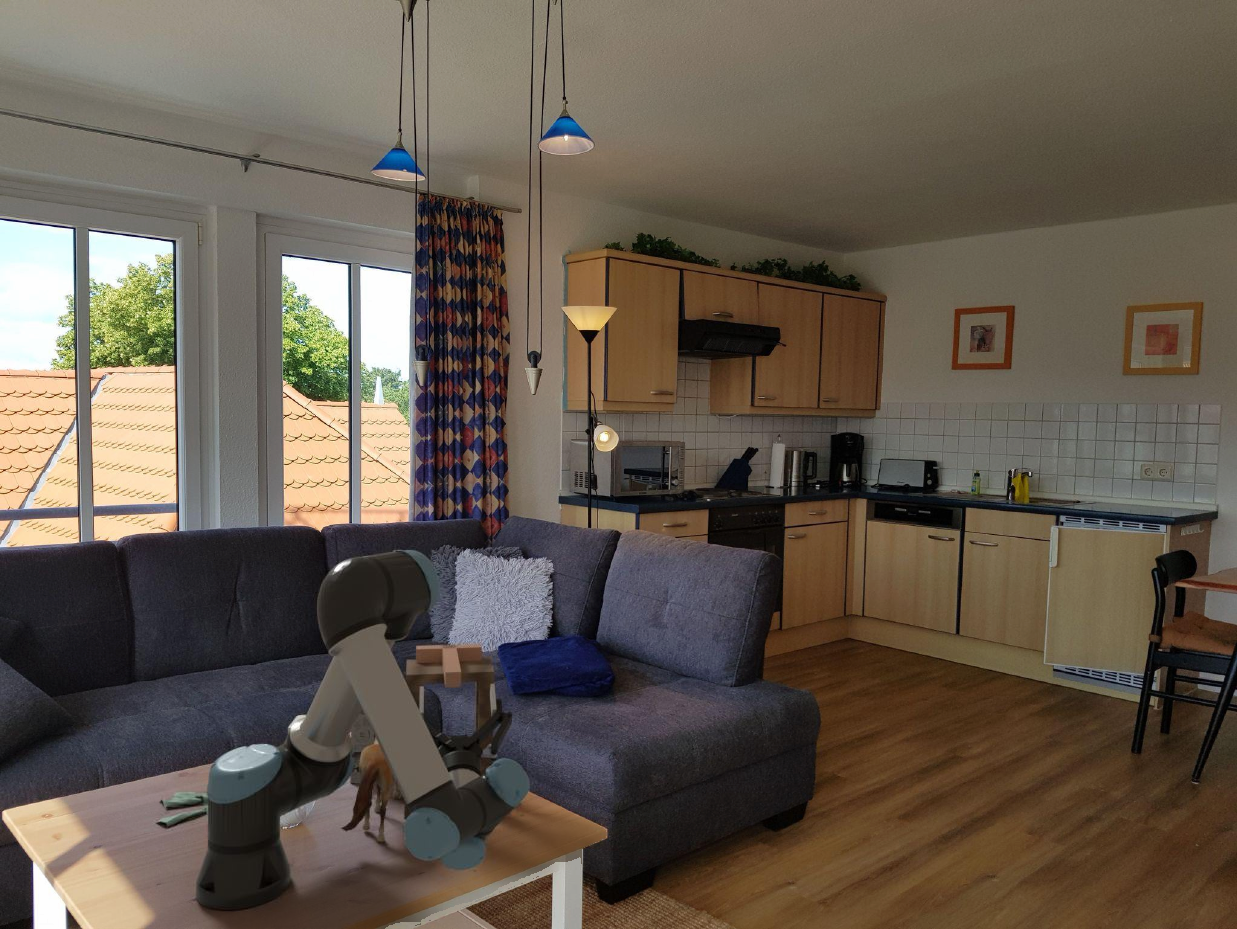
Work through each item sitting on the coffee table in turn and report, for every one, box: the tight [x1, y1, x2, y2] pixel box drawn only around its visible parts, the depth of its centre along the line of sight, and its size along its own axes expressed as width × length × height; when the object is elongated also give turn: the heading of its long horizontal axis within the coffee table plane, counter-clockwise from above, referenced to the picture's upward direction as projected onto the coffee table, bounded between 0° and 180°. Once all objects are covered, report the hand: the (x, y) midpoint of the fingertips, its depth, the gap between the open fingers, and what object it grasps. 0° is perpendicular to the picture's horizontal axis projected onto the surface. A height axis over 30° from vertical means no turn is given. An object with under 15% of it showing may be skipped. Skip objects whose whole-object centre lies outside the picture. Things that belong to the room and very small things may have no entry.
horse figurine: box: [340, 737, 401, 843], centre depth 181 cm, size 31×8×21 cm, turn 3°
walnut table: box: [403, 656, 495, 819], centre depth 190 cm, size 18×12×30 cm, turn 103°
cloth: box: [155, 791, 208, 828], centre depth 185 cm, size 20×22×2 cm
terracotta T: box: [415, 643, 483, 689], centre depth 185 cm, size 14×22×3 cm, turn 13°
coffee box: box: [349, 709, 376, 785], centre depth 204 cm, size 9×6×16 cm
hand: (457, 689), depth 174 cm, fingers open, 13 cm apart
